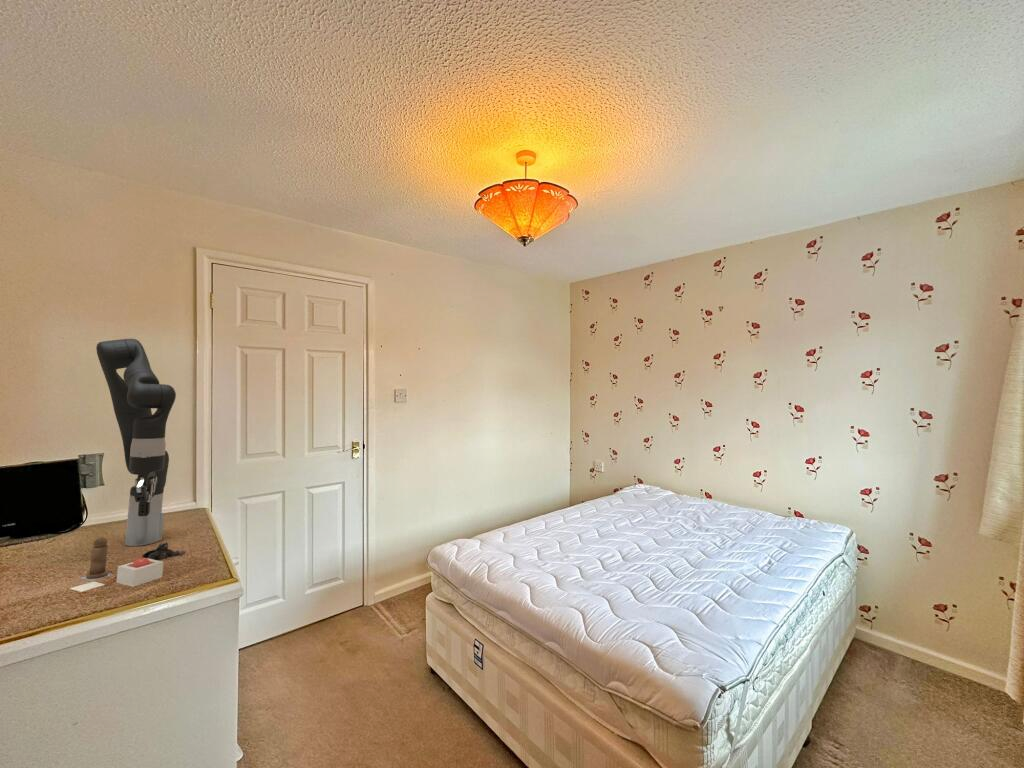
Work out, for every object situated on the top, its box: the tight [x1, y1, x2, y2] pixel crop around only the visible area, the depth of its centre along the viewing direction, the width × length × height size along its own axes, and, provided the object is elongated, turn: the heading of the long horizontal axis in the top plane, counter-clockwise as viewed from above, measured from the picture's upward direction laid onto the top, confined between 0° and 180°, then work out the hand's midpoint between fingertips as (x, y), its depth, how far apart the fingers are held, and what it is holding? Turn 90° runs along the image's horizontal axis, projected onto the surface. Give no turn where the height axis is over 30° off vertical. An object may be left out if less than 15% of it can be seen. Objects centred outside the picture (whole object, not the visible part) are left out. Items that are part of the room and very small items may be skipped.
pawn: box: [85, 536, 109, 580], centre depth 118 cm, size 4×4×11 cm
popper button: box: [132, 557, 151, 568], centre depth 117 cm, size 4×4×5 cm
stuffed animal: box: [140, 541, 187, 561], centre depth 133 cm, size 12×10×12 cm
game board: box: [69, 572, 114, 593], centre depth 115 cm, size 14×20×1 cm
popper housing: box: [116, 558, 164, 588], centre depth 117 cm, size 7×7×4 cm
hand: (143, 515), depth 118 cm, fingers closed
